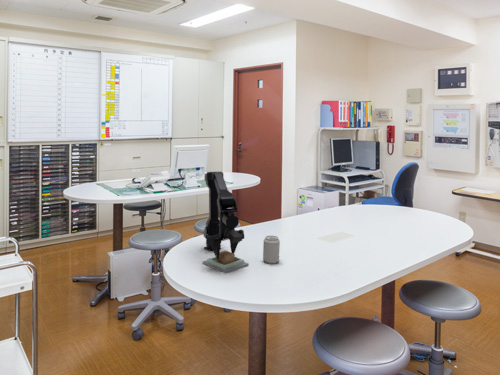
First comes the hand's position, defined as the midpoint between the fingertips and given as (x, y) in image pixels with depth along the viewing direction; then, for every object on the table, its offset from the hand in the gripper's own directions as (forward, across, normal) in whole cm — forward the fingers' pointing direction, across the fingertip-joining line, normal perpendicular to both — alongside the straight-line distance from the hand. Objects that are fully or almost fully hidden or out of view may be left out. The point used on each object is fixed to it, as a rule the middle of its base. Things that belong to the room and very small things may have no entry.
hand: (225, 256), depth 189 cm
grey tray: (+4, 0, 0) cm, 4 cm away
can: (+4, +19, -11) cm, 22 cm away
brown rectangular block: (+3, 0, 0) cm, 3 cm away
